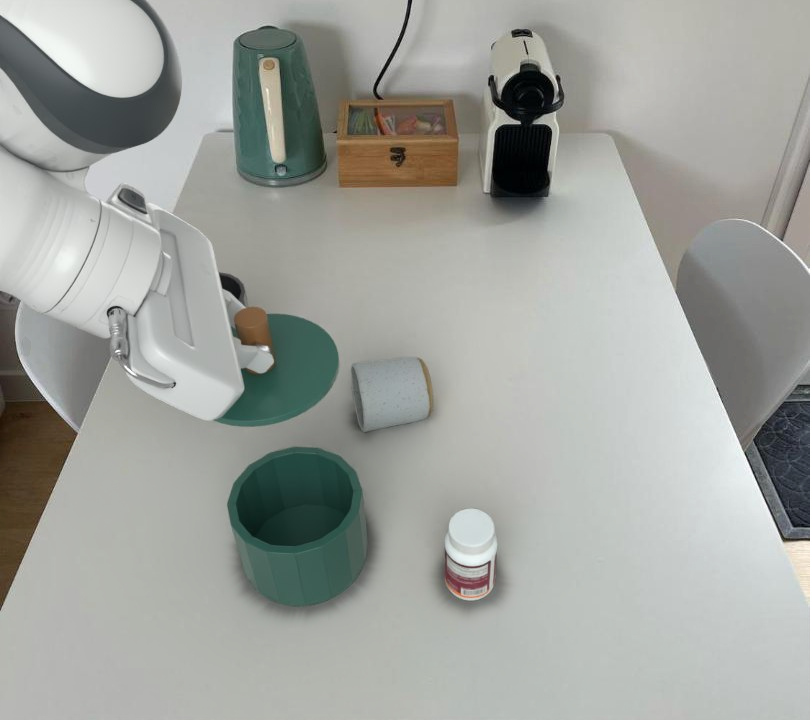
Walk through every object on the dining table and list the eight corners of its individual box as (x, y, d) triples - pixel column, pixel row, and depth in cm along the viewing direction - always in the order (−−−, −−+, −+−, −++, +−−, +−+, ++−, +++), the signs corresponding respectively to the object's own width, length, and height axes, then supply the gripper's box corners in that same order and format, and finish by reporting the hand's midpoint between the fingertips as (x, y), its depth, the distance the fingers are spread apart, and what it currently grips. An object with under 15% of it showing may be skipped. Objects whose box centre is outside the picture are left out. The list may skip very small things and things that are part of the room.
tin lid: (192, 449, 62) (174, 391, 58) (177, 342, 71) (160, 285, 67) (356, 410, 65) (350, 351, 60) (321, 311, 74) (313, 255, 70)
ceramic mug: (437, 431, 90) (436, 380, 85) (365, 446, 88) (360, 396, 83) (412, 369, 98) (410, 319, 92) (345, 383, 96) (339, 333, 91)
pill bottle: (461, 549, 78) (463, 495, 73) (504, 573, 76) (509, 520, 71) (434, 585, 76) (433, 532, 70) (477, 611, 74) (480, 559, 68)
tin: (254, 622, 74) (238, 569, 68) (235, 519, 82) (219, 464, 76) (381, 585, 76) (376, 531, 70) (350, 488, 84) (343, 434, 79)
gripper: (139, 333, 49) (314, 408, 58) (124, 171, 64) (266, 250, 72) (85, 401, 51) (262, 463, 60) (82, 230, 66) (225, 299, 74)
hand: (264, 345), depth 66 cm, fingers closed on tin lid, 2 cm apart
